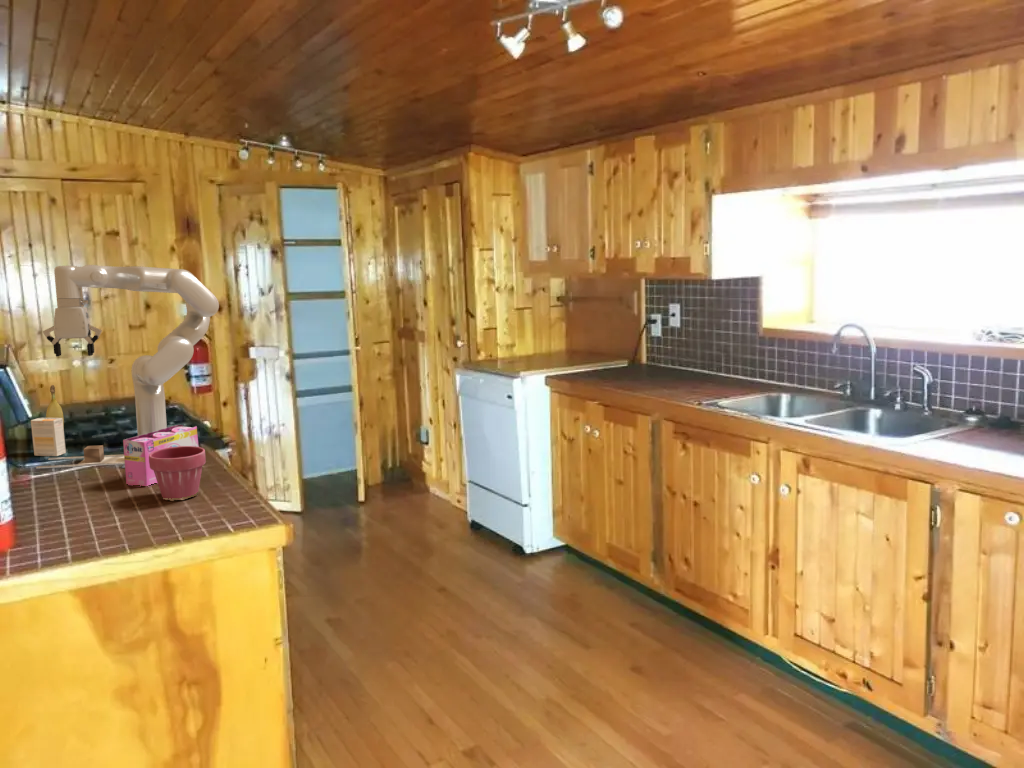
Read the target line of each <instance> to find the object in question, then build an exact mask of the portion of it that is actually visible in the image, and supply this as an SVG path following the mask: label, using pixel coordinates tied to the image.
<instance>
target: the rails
mask: <svg viewBox="0 0 1024 768" xmlns="http://www.w3.org/2000/svg"><path fill="white" fill-rule="evenodd" d="M121 456H124V453H122V454H108V455H107V454H104V457H121ZM70 459H71V460H73V459H84V455H82V456H63V457H61V456H60V457H58V456H57V457H49V458H48V459H47V460H50V461H52V460H70ZM113 465H116V466H117V465H121V466H120V468H119V469H123V468H124V469H125V462H118V463H98V464H79V463H77V464H59V465H58V464H57V465H41V466H40V465H39V466H36V467H35V469H53V468H72V467H73V468H75V467H92V466H93V467H94V466H113Z"/></svg>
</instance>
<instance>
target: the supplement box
mask: <svg viewBox="0 0 1024 768" xmlns="http://www.w3.org/2000/svg"><path fill="white" fill-rule="evenodd" d="M30 427H31V436H32V446H33V447H32V448H33V454H34V456H37V457H38V456H41V457H58V456H61V455H64V454H67V453H66V452H67V450H66V441H65V431H64V428H63V419H62V418H46V417H38V418H35V419H30Z"/></svg>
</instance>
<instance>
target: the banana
mask: <svg viewBox="0 0 1024 768" xmlns="http://www.w3.org/2000/svg"><path fill="white" fill-rule="evenodd" d="M55 388H56V387H55V385H53V384H51V385H50V387H49V391H50V394H51V395H50V396H51V399H50V403H49V404H48V406H47V408H46V412H45V418H62V419H63V429H64V427H65V426H64V425H65V420H64V419H65V418H64V413H63V409H62V406H61V405H60V404H59V402H58V401H57V398H56V395H55V394H56V389H55Z"/></svg>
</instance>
